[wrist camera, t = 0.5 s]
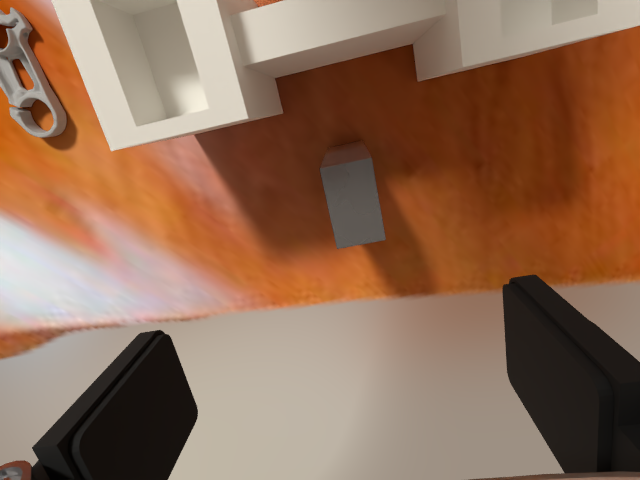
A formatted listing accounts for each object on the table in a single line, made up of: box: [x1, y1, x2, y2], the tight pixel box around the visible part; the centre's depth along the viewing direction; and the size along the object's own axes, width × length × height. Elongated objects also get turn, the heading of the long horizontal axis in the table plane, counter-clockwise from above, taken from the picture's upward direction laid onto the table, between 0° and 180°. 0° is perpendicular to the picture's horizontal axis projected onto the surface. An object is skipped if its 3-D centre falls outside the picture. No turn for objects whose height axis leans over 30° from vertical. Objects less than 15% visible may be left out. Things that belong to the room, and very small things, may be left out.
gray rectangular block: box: [320, 140, 386, 249], centre depth 27 cm, size 5×3×11 cm, turn 12°
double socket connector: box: [51, 0, 640, 151], centre depth 23 cm, size 8×27×12 cm, turn 102°
